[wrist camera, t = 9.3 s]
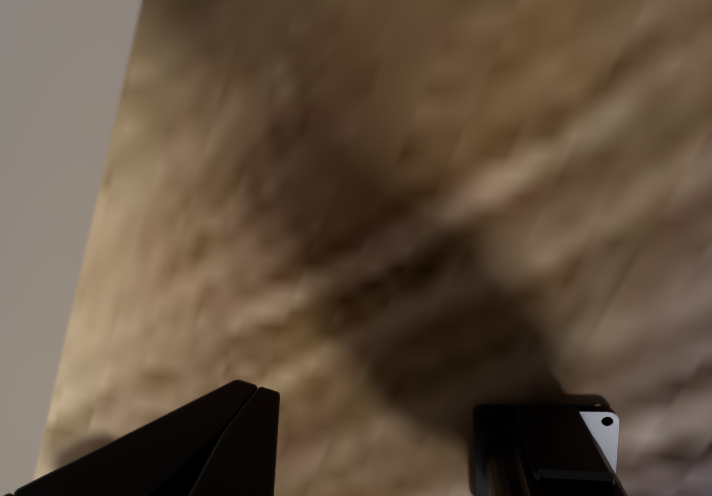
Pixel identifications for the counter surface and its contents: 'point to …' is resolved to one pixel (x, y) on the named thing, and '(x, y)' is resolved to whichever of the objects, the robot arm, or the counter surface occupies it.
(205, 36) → the counter surface
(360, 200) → the counter surface
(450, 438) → the counter surface
